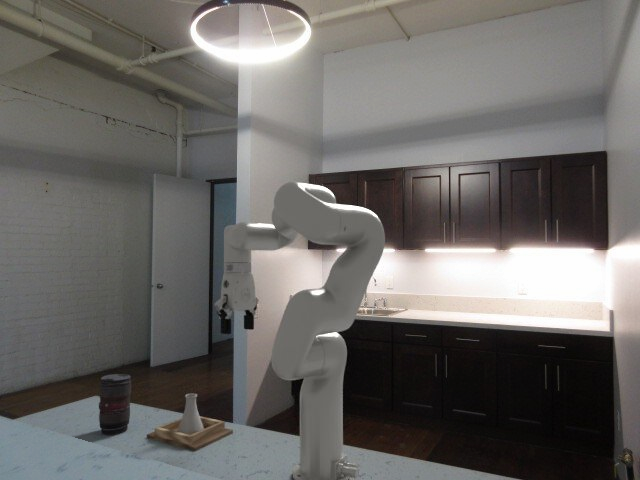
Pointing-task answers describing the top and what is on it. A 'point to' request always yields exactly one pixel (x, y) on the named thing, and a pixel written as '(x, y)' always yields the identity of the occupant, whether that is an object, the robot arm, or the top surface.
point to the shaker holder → (194, 441)
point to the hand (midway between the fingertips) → (237, 331)
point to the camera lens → (114, 403)
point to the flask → (190, 417)
